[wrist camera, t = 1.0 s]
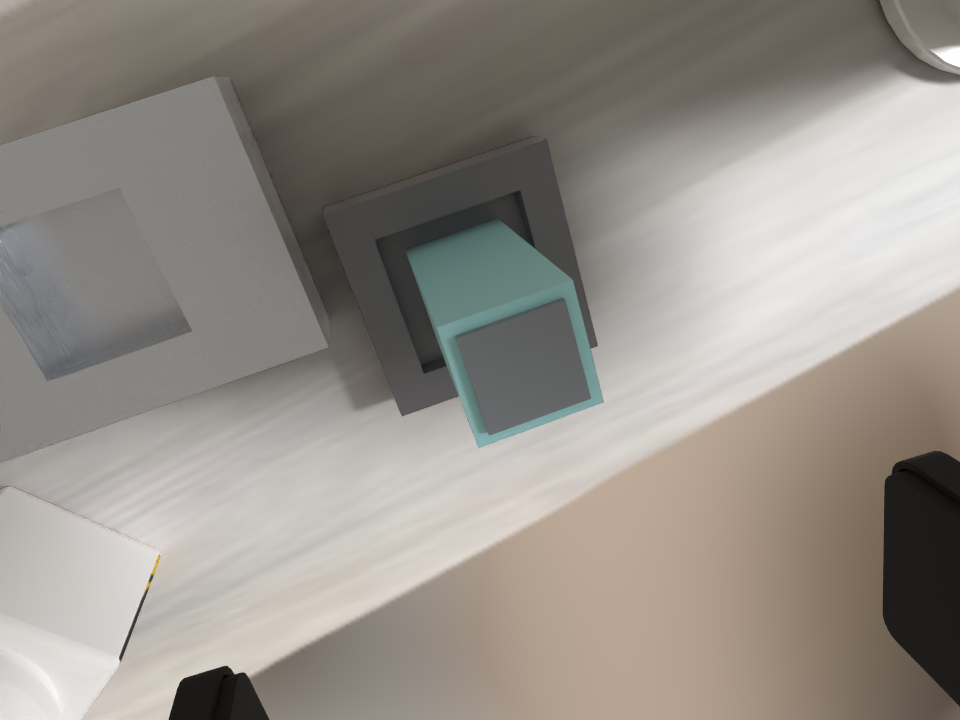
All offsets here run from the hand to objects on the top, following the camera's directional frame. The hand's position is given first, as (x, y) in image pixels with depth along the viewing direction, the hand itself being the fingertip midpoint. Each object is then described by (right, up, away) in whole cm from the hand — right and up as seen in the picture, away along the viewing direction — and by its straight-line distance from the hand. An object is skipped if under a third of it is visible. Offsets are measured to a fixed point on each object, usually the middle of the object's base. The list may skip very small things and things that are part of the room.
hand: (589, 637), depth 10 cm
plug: (-2, +7, +19) cm, 21 cm away
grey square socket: (-2, +8, +20) cm, 22 cm away
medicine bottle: (-21, -6, +22) cm, 31 cm away
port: (-16, +8, +17) cm, 25 cm away
